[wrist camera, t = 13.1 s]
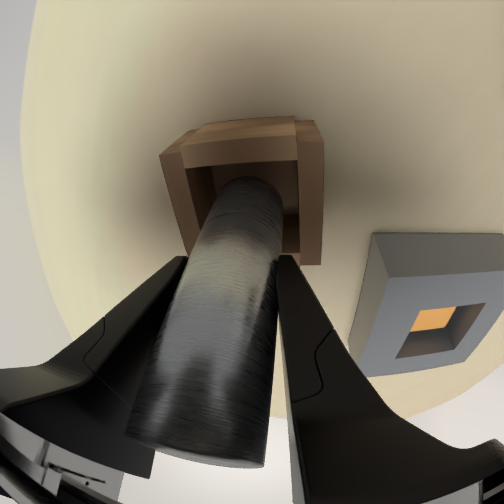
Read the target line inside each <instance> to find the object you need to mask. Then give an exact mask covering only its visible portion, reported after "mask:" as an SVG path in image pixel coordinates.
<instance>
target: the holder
mask: <svg viewBox="0 0 504 504" xmlns="http://www.w3.org/2000/svg"><path fill="white" fill-rule="evenodd" d="M159 157H160V161H161V165H162V169H163V173H164V177H165V180H166V184H167V188H168V191H169V195H170V199H171V202H172V206H173V209H174V212H175V216H176V219H177V223H178V226H179V229H180V233H181V236H182V239H183V242H184V245H185V249H186V252H187V255H188V258H189V257H190V255H191V252H192V250H193V248H194V245H195V243H196V241H197V239H198V236H199V234H200V232H201V230H202V228H203V225H204V223H205V221H206V219H207V217H208V214H209V212H210V210H211V208H212V206H213V204H214V202H215V199H216V197H217V195H218V193H219V191H220V190H221V188H222V187H223V186H224V185H225V184H226V183H227V182H228V181H230V180H232V179H234V178H237V177H241V176H254V177H259V178H261V179H264V180H266V181H268V182H269V183H271V184H272V185H273V186H274V187H275V188H276V189H277V190H278V192H279V193H280V195H281V197H282V200H283V232H282V253H281V255H292V256H293V257H294V259H295V261H296V263H297V264H298V266H299V268H300V265H321V250H322V229H323V192H324V149H323V139H322V137H321V135H320V133H319V131H318V129H317V127H316V125H315V123H314V121H313V120H307V121H294V118H293V116H285V117H267V118H254V119H242V120H233V121H224V122H216V123H209V124H205V125H204V126H203V127H202V128H200V129H198V130H192V131H188V132H187V133H186V134H184V135H183V136H182V137H181V138H179V139H178V140H177V141H176V142H174V143H173V144H172V145H171V146H170V147H168V148H167V149H166V150H165V151H163V152H162V153H161V154H160V155H159Z"/></svg>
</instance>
